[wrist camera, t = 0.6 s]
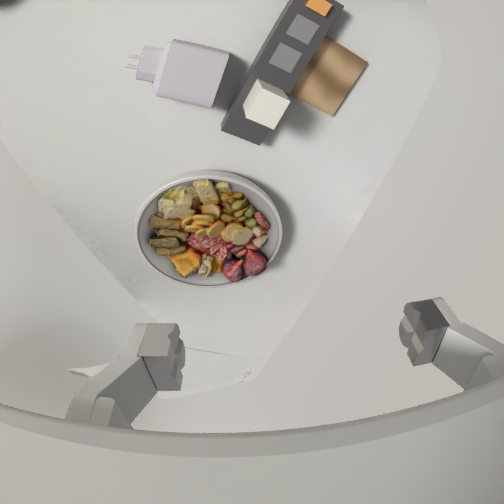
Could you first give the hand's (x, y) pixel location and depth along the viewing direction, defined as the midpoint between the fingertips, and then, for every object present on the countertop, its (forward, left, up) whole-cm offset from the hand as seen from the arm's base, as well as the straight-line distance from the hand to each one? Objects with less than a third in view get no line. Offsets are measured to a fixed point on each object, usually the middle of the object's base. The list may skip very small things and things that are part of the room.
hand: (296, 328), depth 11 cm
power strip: (-3, +6, -47) cm, 47 cm away
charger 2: (+3, +6, -45) cm, 46 cm away
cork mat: (-5, +15, -47) cm, 49 cm away
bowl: (+33, +9, -47) cm, 58 cm away
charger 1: (+4, -8, -47) cm, 48 cm away
